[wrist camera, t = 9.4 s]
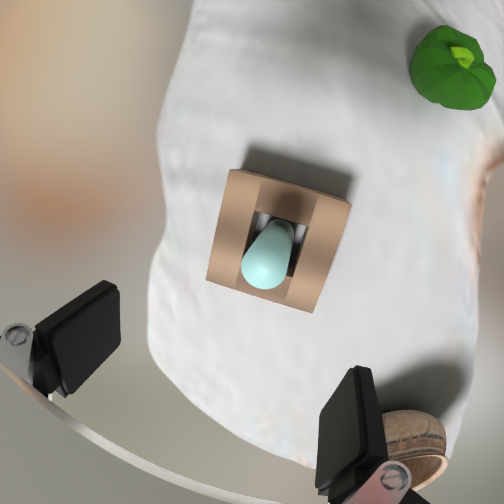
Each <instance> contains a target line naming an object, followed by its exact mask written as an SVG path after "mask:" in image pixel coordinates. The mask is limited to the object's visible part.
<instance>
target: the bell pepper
mask: <svg viewBox="0 0 504 504" xmlns="http://www.w3.org/2000/svg"><path fill="white" fill-rule="evenodd" d="M410 74H411V79H412V84H413V85H414V86H415V88H416V89H417V91H418V92H419V94H420V95H422V96H423V97H425V98H426V99H428V100H429V101H430V102H432V103H440V104H441V105H442V106H443V107H446V108H450V109H458V110H475V109H479V108H481V107H483V106H484V105H485V104H486V103H487V102H488V100H489V98H490V96H491V94H492V91H493V89H494V86H495V83H496V78H495V75H494V73H493V70H492V68H491V67H490V66H488V65H487V64H486V63H484V55H483V52H482V50H481V48H480V46H479V44H478V42H477V40H476V39H475V38H473V37H470V36H468V35H466V34H464V33H462V32H459V31H457V30H455V29H453V28H451V27H449V26H447V25H446V26H439V27H437V28H436V29H434V30H432V31H430V32H429V33H428V35H427V36H426V37H425V38H424V39H423V40H422V41H421V42H420V43H419V45H418V46H417V47H416V51H415V54H414V57H413V60H412V63H411V67H410Z"/></svg>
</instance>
